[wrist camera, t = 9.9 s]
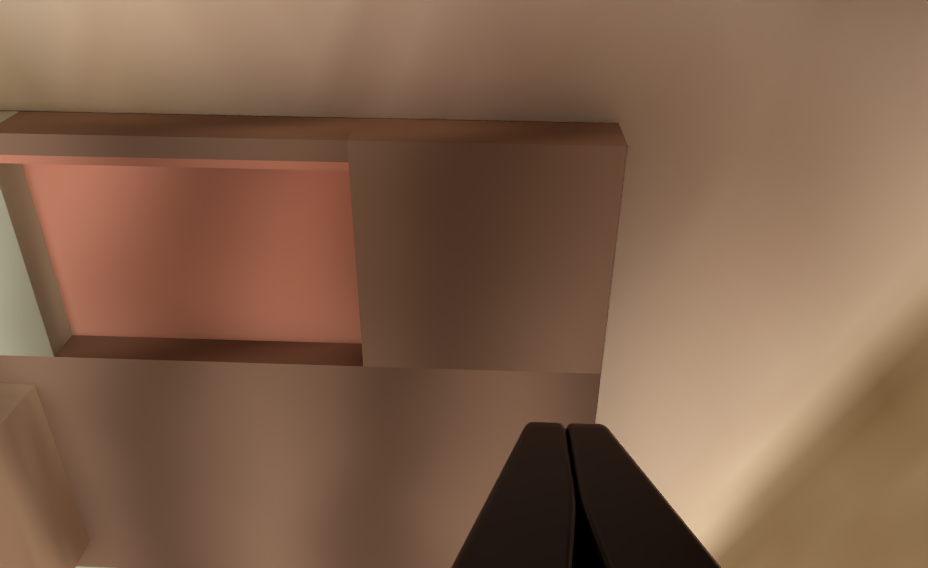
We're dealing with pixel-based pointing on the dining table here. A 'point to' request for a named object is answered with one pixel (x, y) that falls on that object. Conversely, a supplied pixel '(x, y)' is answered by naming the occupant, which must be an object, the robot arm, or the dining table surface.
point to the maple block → (34, 488)
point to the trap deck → (300, 322)
